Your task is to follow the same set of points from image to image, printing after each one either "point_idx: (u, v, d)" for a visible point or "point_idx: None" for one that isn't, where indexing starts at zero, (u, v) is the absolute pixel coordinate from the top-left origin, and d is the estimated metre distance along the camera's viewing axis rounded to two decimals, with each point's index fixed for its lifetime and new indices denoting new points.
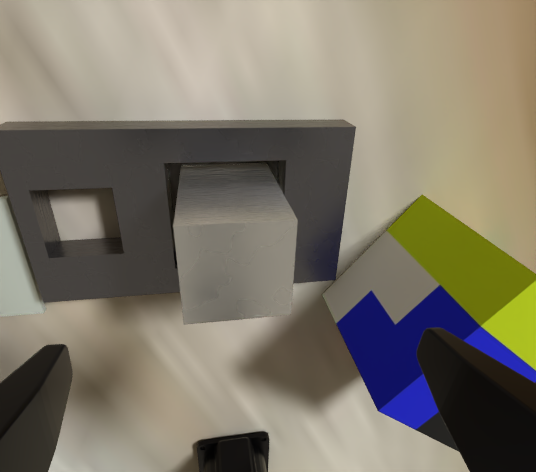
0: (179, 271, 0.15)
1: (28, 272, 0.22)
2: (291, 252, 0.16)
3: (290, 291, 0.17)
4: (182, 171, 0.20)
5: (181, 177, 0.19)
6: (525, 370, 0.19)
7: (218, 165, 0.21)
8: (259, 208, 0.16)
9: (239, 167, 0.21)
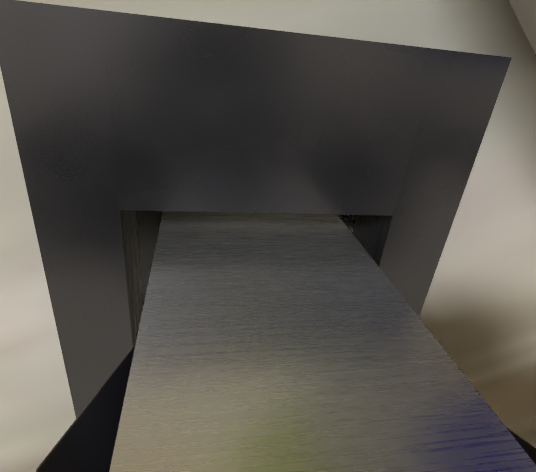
0: None
1: None
2: None
3: None
4: None
5: None
6: None
7: None
8: None
9: None
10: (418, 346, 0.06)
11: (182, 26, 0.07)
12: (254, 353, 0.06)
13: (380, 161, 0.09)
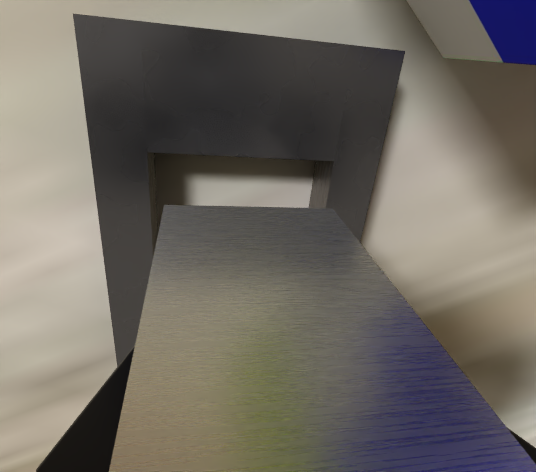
0: None
1: None
2: None
3: None
4: None
5: None
6: None
7: None
8: None
9: None
10: (415, 342, 0.06)
11: (189, 31, 0.11)
12: (253, 349, 0.06)
13: (322, 121, 0.13)
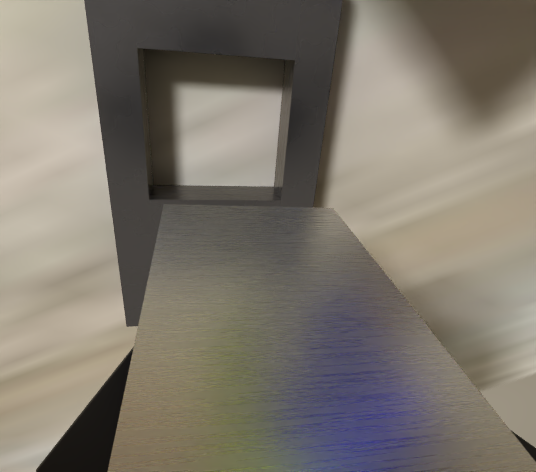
0: None
1: None
2: None
3: None
4: None
5: None
6: None
7: None
8: None
9: None
10: (416, 341, 0.06)
11: None
12: (253, 348, 0.06)
13: (282, 22, 0.15)
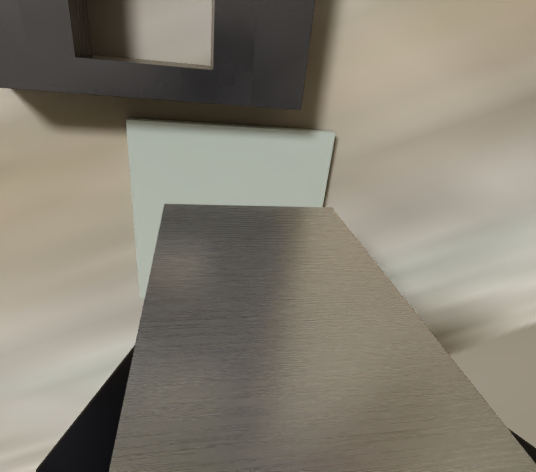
0: None
1: (258, 131, 0.14)
2: None
3: None
4: None
5: None
6: None
7: None
8: None
9: None
10: (413, 338, 0.06)
11: None
12: (252, 344, 0.06)
13: None
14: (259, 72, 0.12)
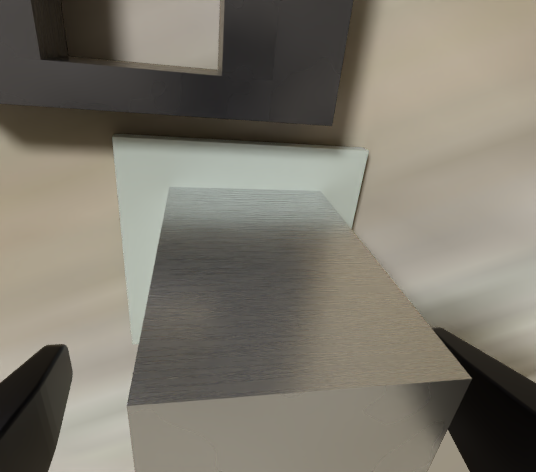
0: None
1: (275, 149, 0.12)
2: (247, 404, 0.05)
3: (387, 389, 0.05)
4: None
5: None
6: None
7: None
8: None
9: None
10: (381, 290, 0.08)
11: None
12: (246, 292, 0.07)
13: None
14: (281, 79, 0.09)
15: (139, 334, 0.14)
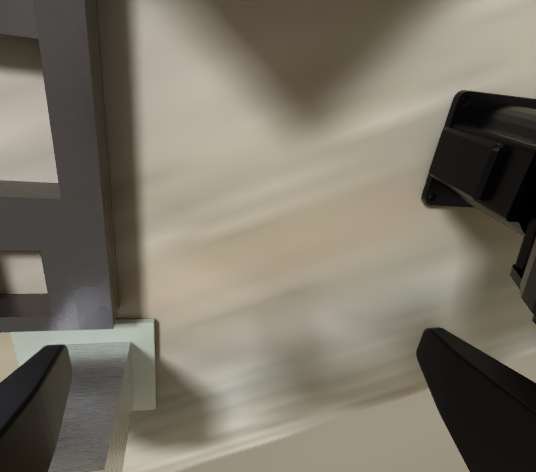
0: None
1: None
2: None
3: None
4: None
5: None
6: None
7: None
8: None
9: None
10: (104, 423, 0.18)
11: None
12: None
13: None
14: (82, 314, 0.20)
15: None
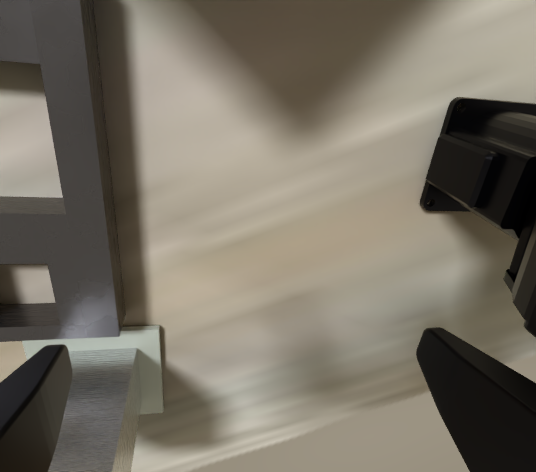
0: None
1: None
2: None
3: None
4: None
5: None
6: None
7: None
8: None
9: None
10: (112, 428, 0.19)
11: None
12: None
13: (13, 22, 0.14)
14: (89, 323, 0.21)
15: None
